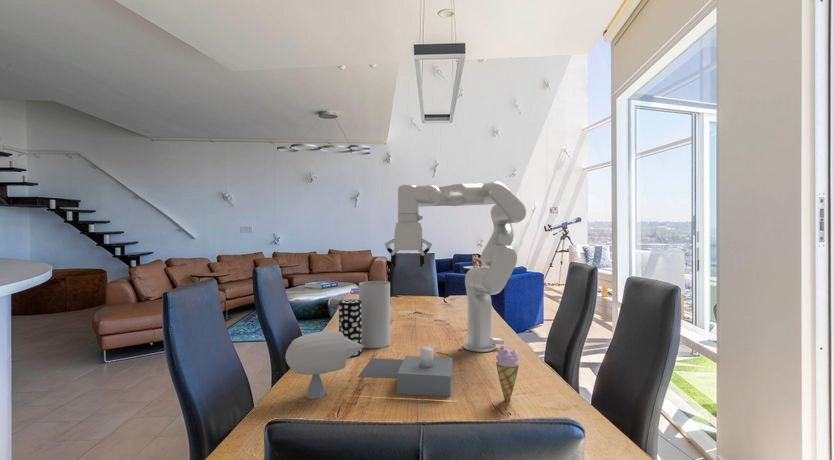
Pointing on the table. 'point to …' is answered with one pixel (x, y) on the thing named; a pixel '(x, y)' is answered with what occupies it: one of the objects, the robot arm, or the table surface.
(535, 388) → the table surface
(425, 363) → the lid
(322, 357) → the jet engine
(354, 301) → the spotted tube
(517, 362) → the ice cream cone
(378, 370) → the rubber mat
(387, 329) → the cylinder vase
